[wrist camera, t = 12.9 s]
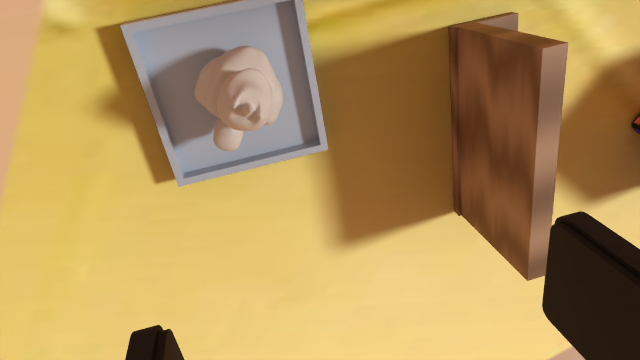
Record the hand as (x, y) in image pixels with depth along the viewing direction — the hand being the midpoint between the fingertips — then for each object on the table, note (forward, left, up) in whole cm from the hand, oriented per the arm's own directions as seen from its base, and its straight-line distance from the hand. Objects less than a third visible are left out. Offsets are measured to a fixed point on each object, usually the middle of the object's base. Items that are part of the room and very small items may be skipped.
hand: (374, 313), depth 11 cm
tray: (0, -2, -23) cm, 23 cm away
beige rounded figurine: (0, -2, -23) cm, 23 cm away
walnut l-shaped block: (+7, +16, -23) cm, 29 cm away
